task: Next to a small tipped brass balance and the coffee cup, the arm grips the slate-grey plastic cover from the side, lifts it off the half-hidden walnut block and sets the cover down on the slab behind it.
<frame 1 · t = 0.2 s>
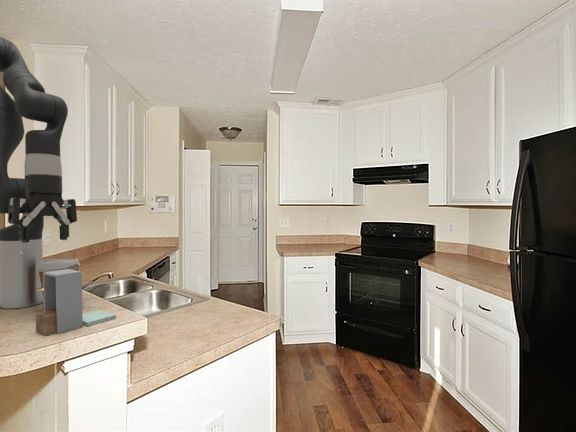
hand: (45, 241, 87), 17 cm above the table, tool pointing down, fingers open, 8 cm apart
disposable coffee cup: (59, 307, 92), on the table
block: (51, 331, 74), on the table
slab: (93, 319, 82), on the table
balance: (62, 313, 86), on the table
cover: (63, 327, 76), on the table
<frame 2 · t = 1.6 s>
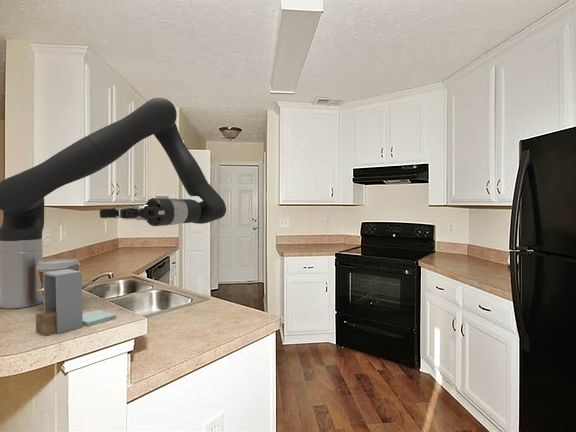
hand: (110, 213, 85), 24 cm above the table, tool horizontal, fingers open, 8 cm apart
nothing on the table moved.
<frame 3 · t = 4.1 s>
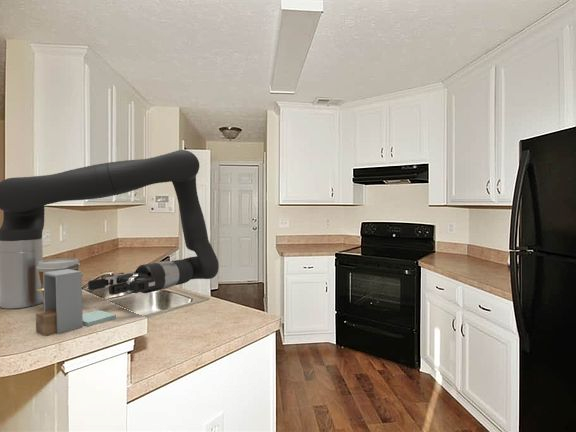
hand: (99, 287, 83), 7 cm above the table, tool horizontal, fingers open, 8 cm apart
nothing on the table moved.
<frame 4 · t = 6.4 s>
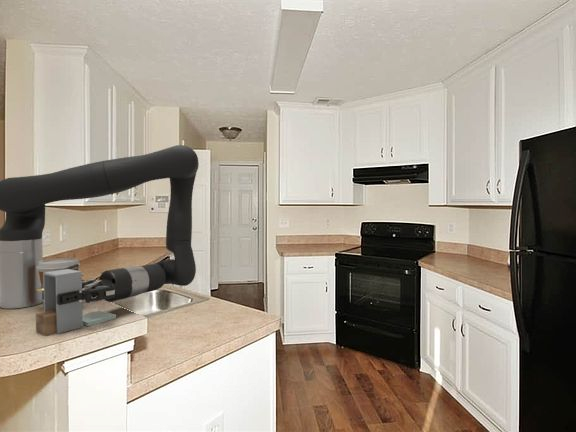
hand: (50, 297, 74), 7 cm above the table, tool horizontal, fingers closed on cover, 5 cm apart
cover: (63, 327, 76), on the table, touching gripper
everything else where it was.
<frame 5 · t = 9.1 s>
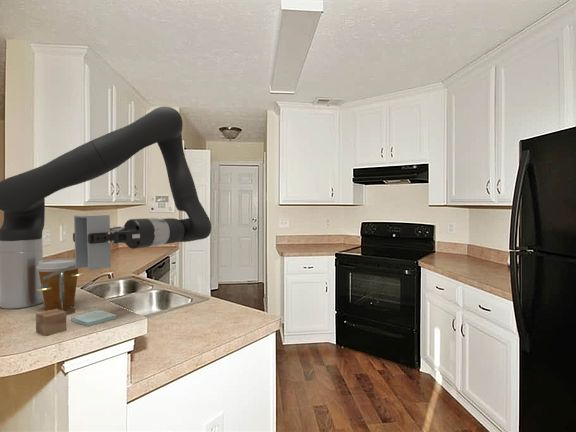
hand: (81, 238, 79), 19 cm above the table, tool horizontal, fingers closed on cover, 5 cm apart
cover: (93, 267, 82), point 12 cm above the table, touching gripper
everything else where it was.
when the fingers open (9 cm above the table, at t = 11.7 s): cover drops 1 cm, resting on slab.
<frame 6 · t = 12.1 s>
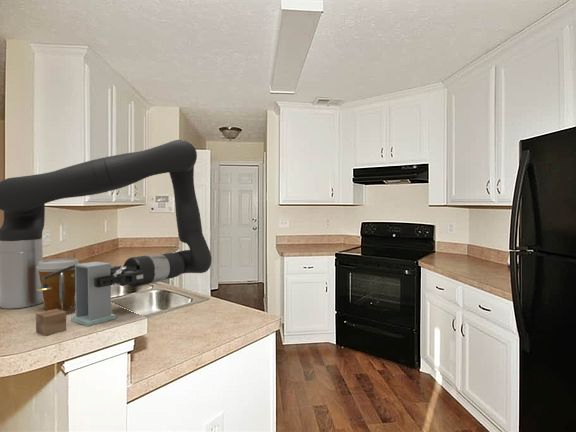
hand: (84, 280, 80), 9 cm above the table, tool horizontal, fingers open, 8 cm apart
cover: (93, 316, 82), point 1 cm above the table, touching slab
everything else where it was.
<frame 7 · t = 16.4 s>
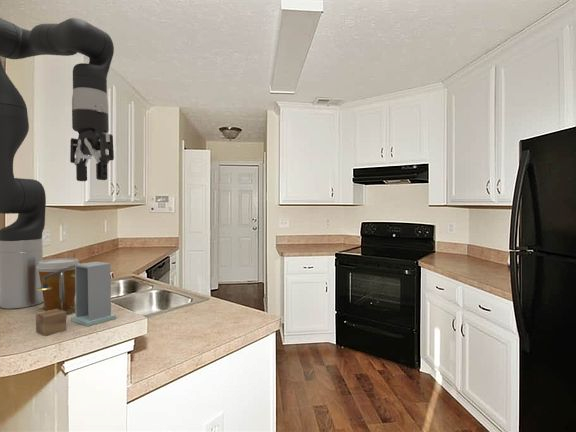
hand: (91, 180, 84), 32 cm above the table, tool pointing down, fingers open, 8 cm apart
nothing on the table moved.
at the end: cover inside the target area on the slab (0.1 cm from its centre), point 0.8 cm above the slab's base; cover tilted 0°; block moved 0.1 cm from its start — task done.
